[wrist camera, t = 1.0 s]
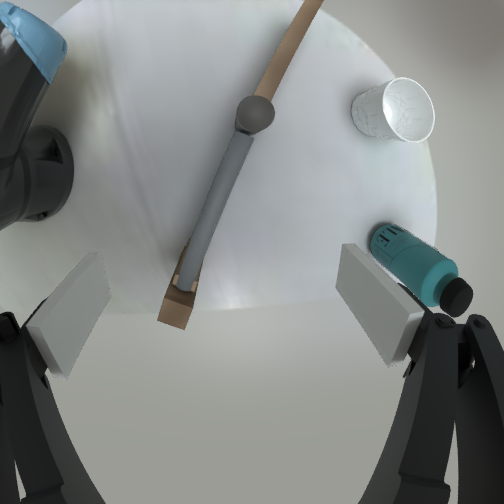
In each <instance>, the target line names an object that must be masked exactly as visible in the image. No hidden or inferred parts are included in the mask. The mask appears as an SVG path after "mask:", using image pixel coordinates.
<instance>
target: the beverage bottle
mask: <svg viewBox="0 0 504 504" xmlns="http://www.w3.org/2000/svg"><path fill="white" fill-rule="evenodd" d="M404 230H405V229H404ZM404 230H403V228H402V229H401V228H399V226H398V225H397V226H396V225H390V224H388V225H384V226H382V227H380V228H379V229H378V230H377V231H376V232H375V234H374V235H373V237H372V240H371V251H372V254H373V256H374V257H375V258H376V259H377V260H378V261H379V262H380V263H381V265H383V266H385V269H386V268H387V269H388V271H390V272H391V273H392V274H393V275H395V276H396V277H397V278H398V279H399V280H400V281H401V282H402V283H403V284H405V285H406V286H407V287H408V288H409V289H410V290H411V291H412V292H413V293H414V294H415V295H416V296H417V297H418V298H419V299H420V300H421V302H422V303H423V304H424V305H425V306H428V307H435V306H438V305H440V308H441V309H442V310H443V311H444V312H446V313H447V314H449V315H450V316H451V317H459V316H460V315H462V314H463V313H464V312H465V311H466V310H467V308H468V307H469V305H470V303H471V301H472V298H473V290H472V288H471V287H470V286H469V285H468V284H467V283H466V281H464V280H463V279H462V278H460V277H458V269H457V266H456V264H455V263H454V262H453V261H452V260H451V259H448V258H447V257H445V256H443V255H442V254H441V253H439V252H438V251H436V250H435V249H433V248H434V247H433V246H432V247H433V248H432V247H430V246H429V244H428V245H427V244H426V242H425V241H424V242H425V243H424V242H423V241H422V240H421V239H420V240H419V239H418V238H416V237H417V236H416V237H414V236H413V234H412V235H411V234H410V232H409V233H408V231H407V230H406V231H407V232H406V231H404ZM387 269H386V270H387Z"/></svg>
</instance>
